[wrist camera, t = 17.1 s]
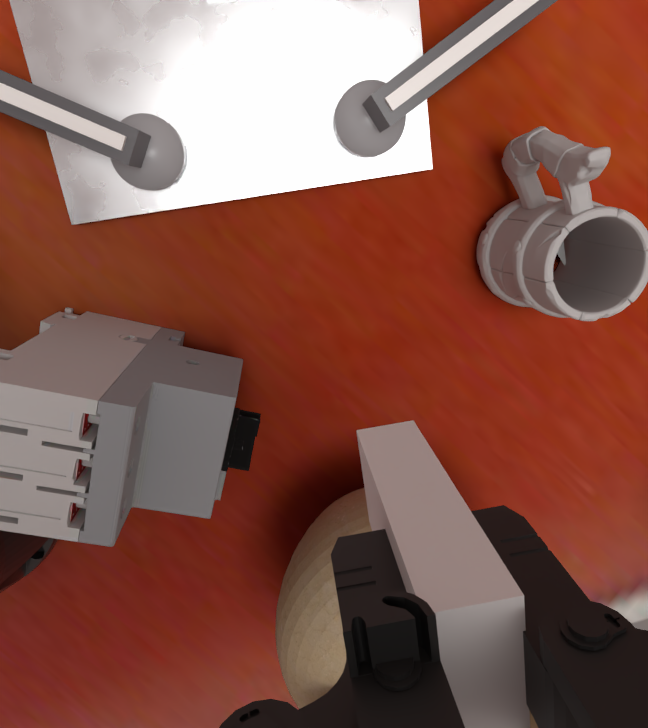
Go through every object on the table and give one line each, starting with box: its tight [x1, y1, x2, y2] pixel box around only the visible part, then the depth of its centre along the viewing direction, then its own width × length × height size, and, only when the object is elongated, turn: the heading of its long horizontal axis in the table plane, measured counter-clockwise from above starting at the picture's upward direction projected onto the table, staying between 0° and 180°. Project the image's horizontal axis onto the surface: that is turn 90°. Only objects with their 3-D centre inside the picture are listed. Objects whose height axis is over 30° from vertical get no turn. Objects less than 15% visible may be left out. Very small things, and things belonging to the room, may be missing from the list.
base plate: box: [9, 0, 433, 225], centre depth 34 cm, size 24×15×3 cm, turn 99°
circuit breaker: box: [0, 307, 261, 547], centre depth 33 cm, size 8×14×15 cm, turn 76°
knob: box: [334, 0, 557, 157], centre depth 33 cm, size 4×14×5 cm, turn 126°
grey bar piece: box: [0, 70, 186, 190], centre depth 32 cm, size 4×14×5 cm, turn 67°
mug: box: [477, 126, 648, 321], centre depth 34 cm, size 8×12×12 cm, turn 21°
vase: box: [276, 488, 538, 728], centre depth 31 cm, size 17×17×30 cm
